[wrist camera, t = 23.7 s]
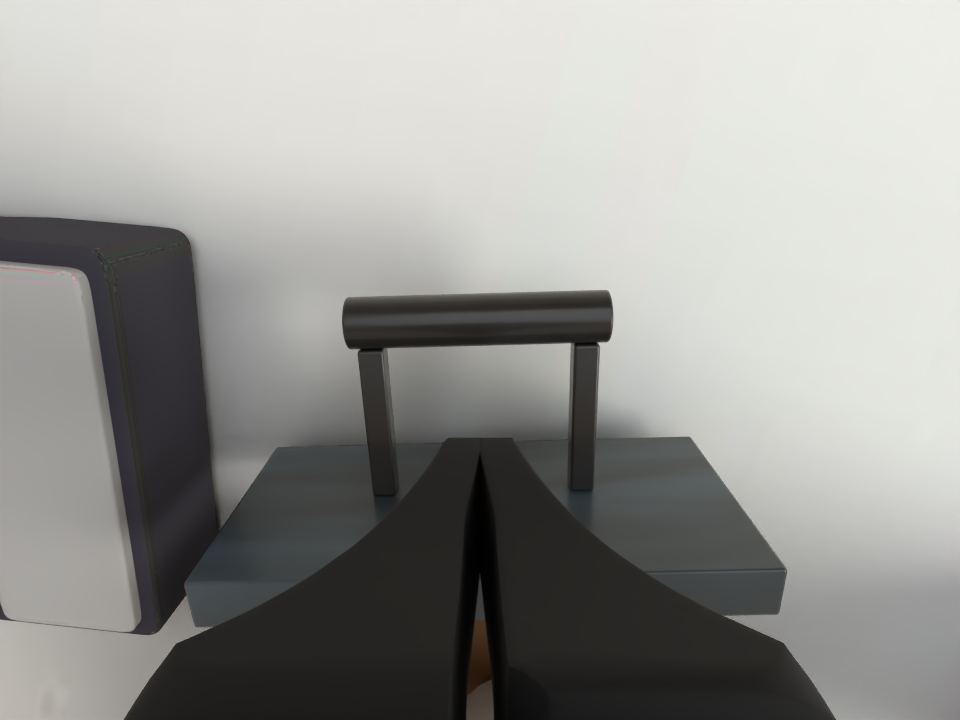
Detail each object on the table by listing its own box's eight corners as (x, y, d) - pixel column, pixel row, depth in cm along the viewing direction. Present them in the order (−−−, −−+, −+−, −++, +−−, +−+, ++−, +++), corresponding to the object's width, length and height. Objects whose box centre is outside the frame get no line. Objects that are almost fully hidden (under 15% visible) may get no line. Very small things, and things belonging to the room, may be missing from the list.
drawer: (248, 278, 15) (120, 349, 10) (709, 265, 15) (835, 329, 10) (327, 740, 21) (275, 941, 16) (657, 733, 21) (718, 934, 16)
